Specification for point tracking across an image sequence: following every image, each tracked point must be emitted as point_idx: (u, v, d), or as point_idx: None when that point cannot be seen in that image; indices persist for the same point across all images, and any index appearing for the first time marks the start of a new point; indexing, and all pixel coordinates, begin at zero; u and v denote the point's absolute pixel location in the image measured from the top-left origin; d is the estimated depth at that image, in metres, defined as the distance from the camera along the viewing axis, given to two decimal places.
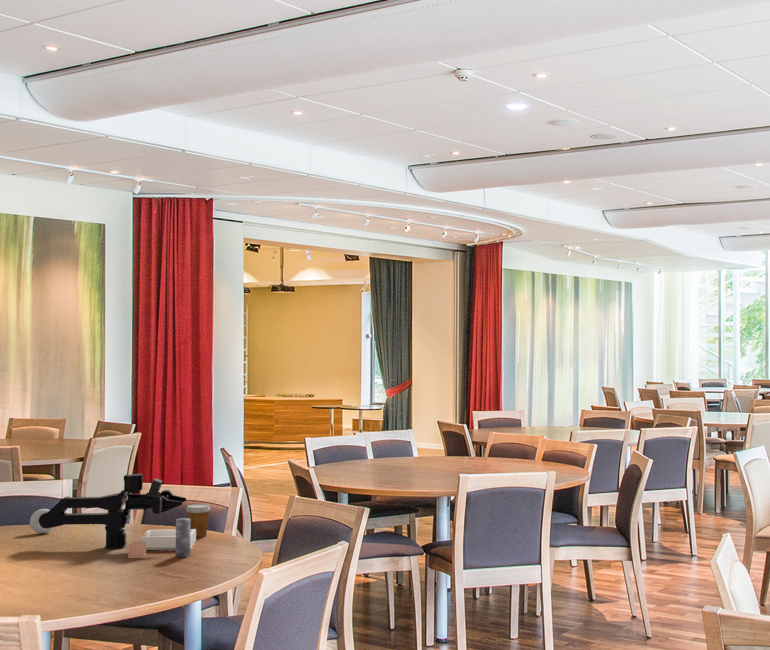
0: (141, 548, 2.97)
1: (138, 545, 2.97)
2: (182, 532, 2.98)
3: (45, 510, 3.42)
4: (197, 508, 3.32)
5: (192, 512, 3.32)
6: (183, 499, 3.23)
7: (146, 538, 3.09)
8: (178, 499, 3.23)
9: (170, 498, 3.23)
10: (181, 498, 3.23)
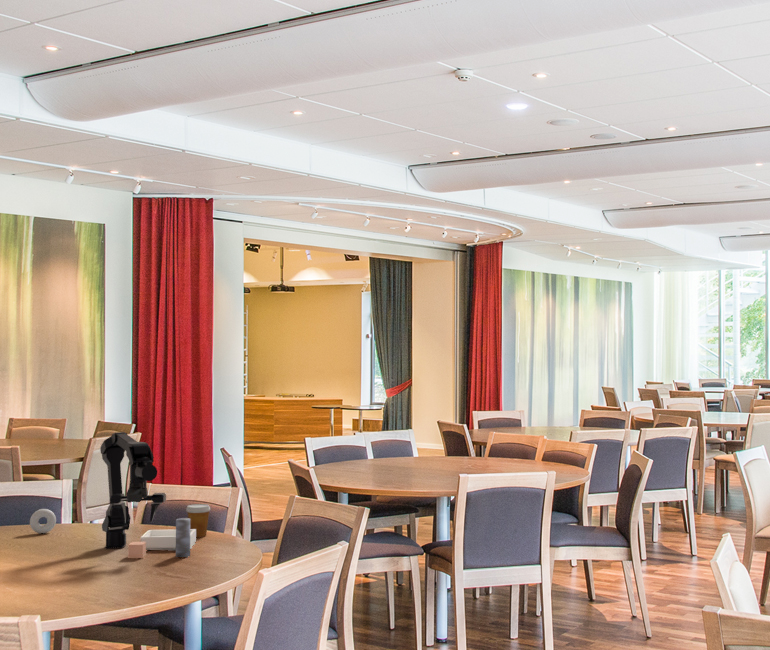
0: (141, 548, 2.97)
1: (138, 545, 2.97)
2: (182, 532, 2.98)
3: (45, 510, 3.42)
4: (197, 508, 3.32)
5: (192, 512, 3.32)
6: None
7: (146, 538, 3.09)
8: (151, 514, 3.00)
9: None
10: None
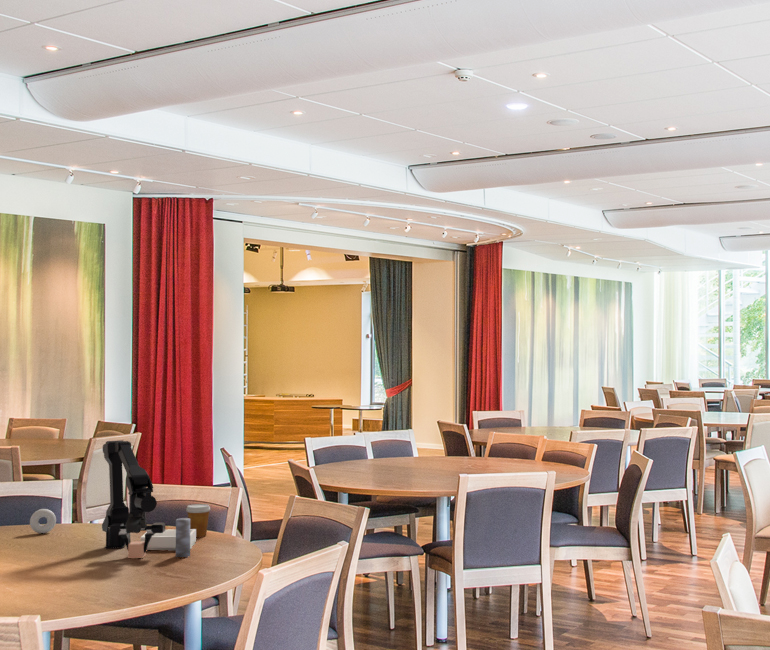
0: (141, 548, 2.97)
1: (138, 545, 2.97)
2: (182, 532, 2.98)
3: (45, 510, 3.42)
4: (197, 508, 3.32)
5: (192, 512, 3.32)
6: None
7: None
8: (144, 544, 2.99)
9: None
10: (144, 547, 2.99)
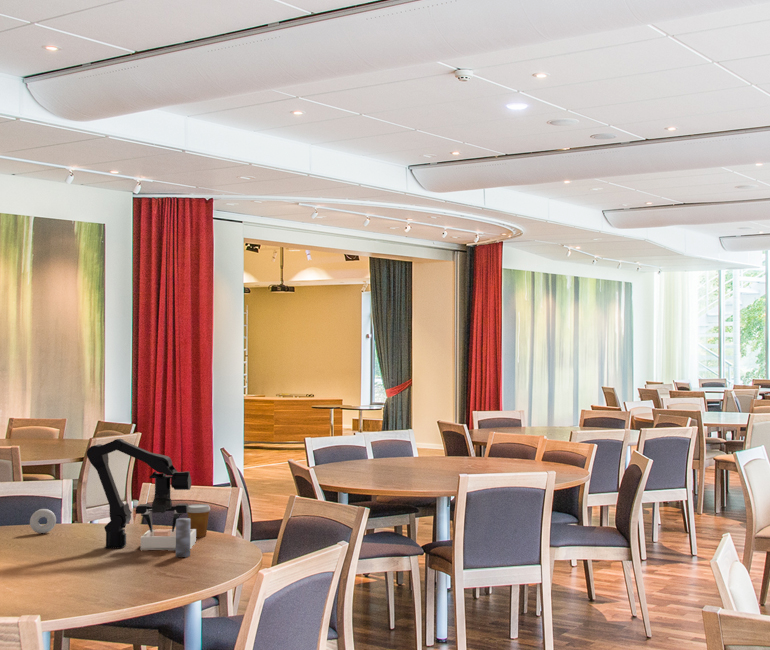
0: (166, 535, 3.14)
1: (163, 532, 3.14)
2: (182, 531, 2.98)
3: (45, 510, 3.42)
4: (197, 508, 3.32)
5: (192, 512, 3.32)
6: None
7: (146, 538, 3.09)
8: (173, 523, 3.17)
9: None
10: (172, 527, 3.16)
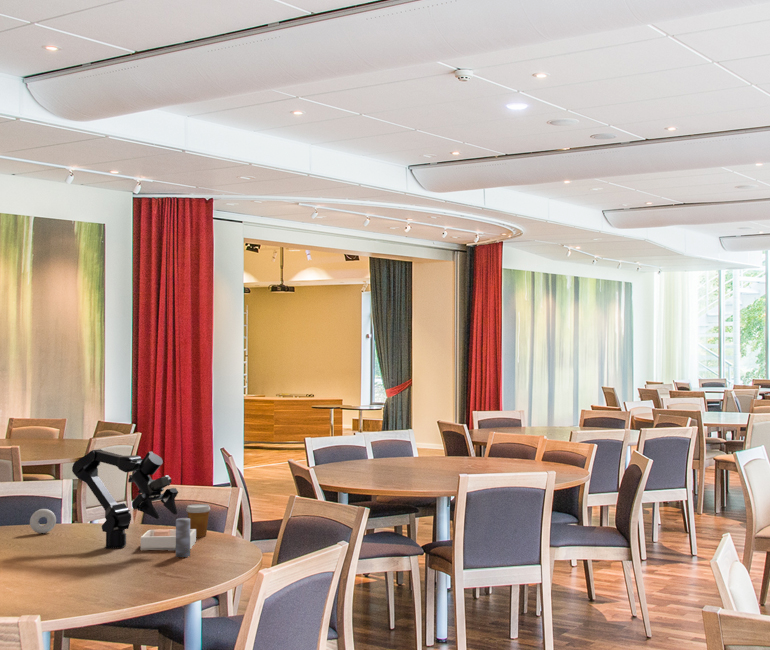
0: (166, 535, 3.14)
1: (163, 532, 3.14)
2: (182, 532, 2.98)
3: (45, 510, 3.42)
4: (197, 508, 3.32)
5: (192, 512, 3.32)
6: (174, 512, 3.09)
7: (146, 538, 3.09)
8: (172, 508, 3.10)
9: (169, 500, 3.11)
10: (174, 509, 3.09)
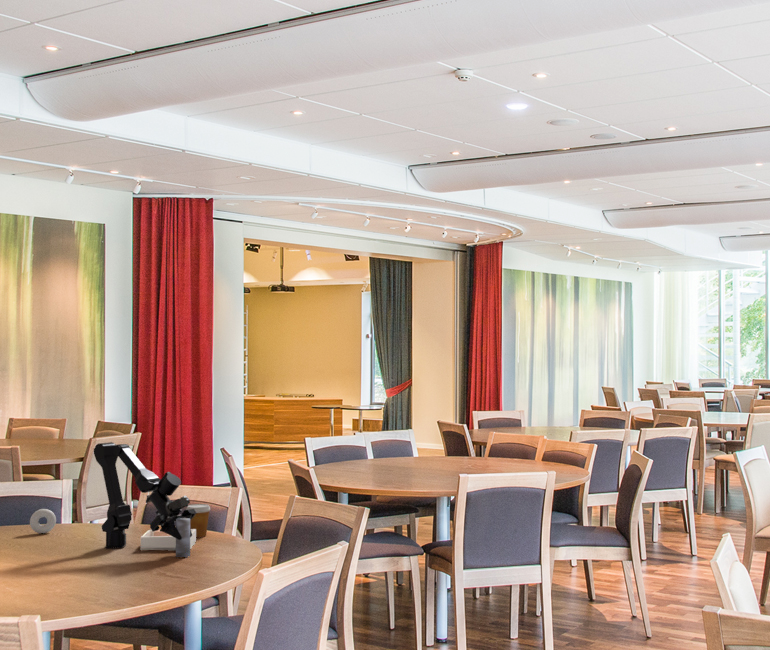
0: (166, 535, 3.14)
1: (163, 532, 3.14)
2: (181, 532, 2.98)
3: (45, 510, 3.42)
4: (197, 508, 3.32)
5: None
6: None
7: (146, 538, 3.09)
8: None
9: None
10: None
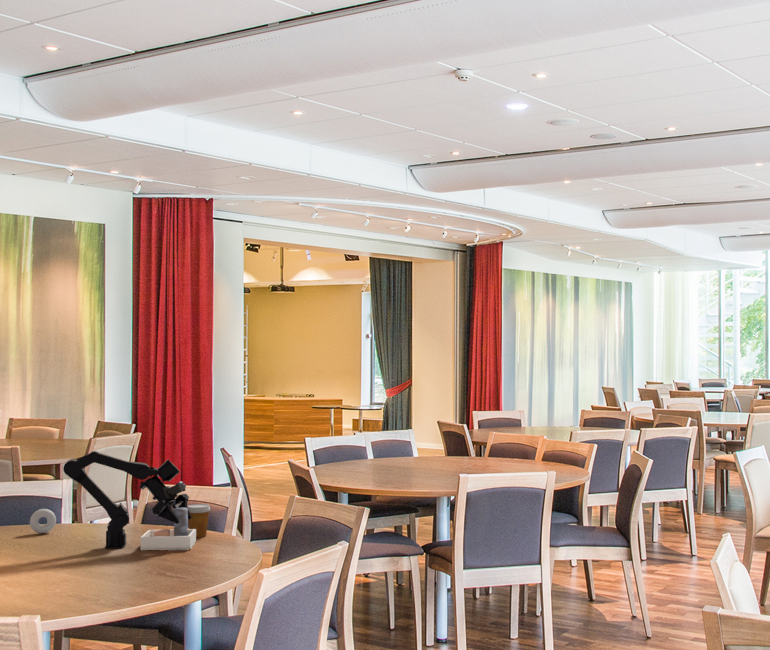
0: (166, 535, 3.14)
1: (163, 532, 3.14)
2: (181, 520, 3.15)
3: (45, 510, 3.42)
4: (197, 508, 3.32)
5: (192, 512, 3.32)
6: (188, 516, 3.21)
7: (146, 538, 3.09)
8: None
9: (181, 506, 3.23)
10: (188, 514, 3.22)
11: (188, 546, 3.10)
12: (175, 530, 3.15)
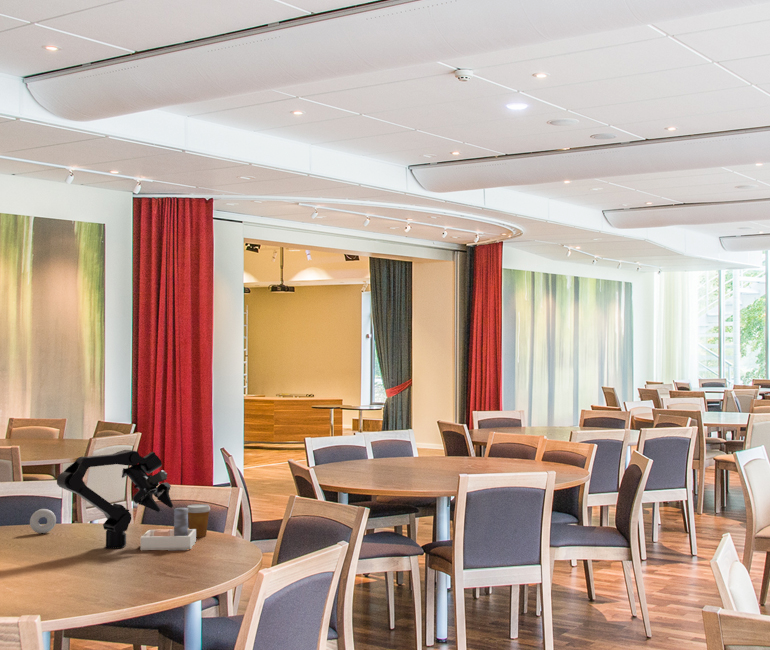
0: (166, 535, 3.14)
1: (163, 532, 3.14)
2: (181, 520, 3.15)
3: (45, 510, 3.42)
4: (197, 508, 3.32)
5: (192, 512, 3.32)
6: (170, 505, 3.24)
7: (146, 538, 3.09)
8: (167, 501, 3.24)
9: (163, 494, 3.25)
10: (169, 503, 3.24)
11: (188, 546, 3.10)
12: (175, 530, 3.15)
